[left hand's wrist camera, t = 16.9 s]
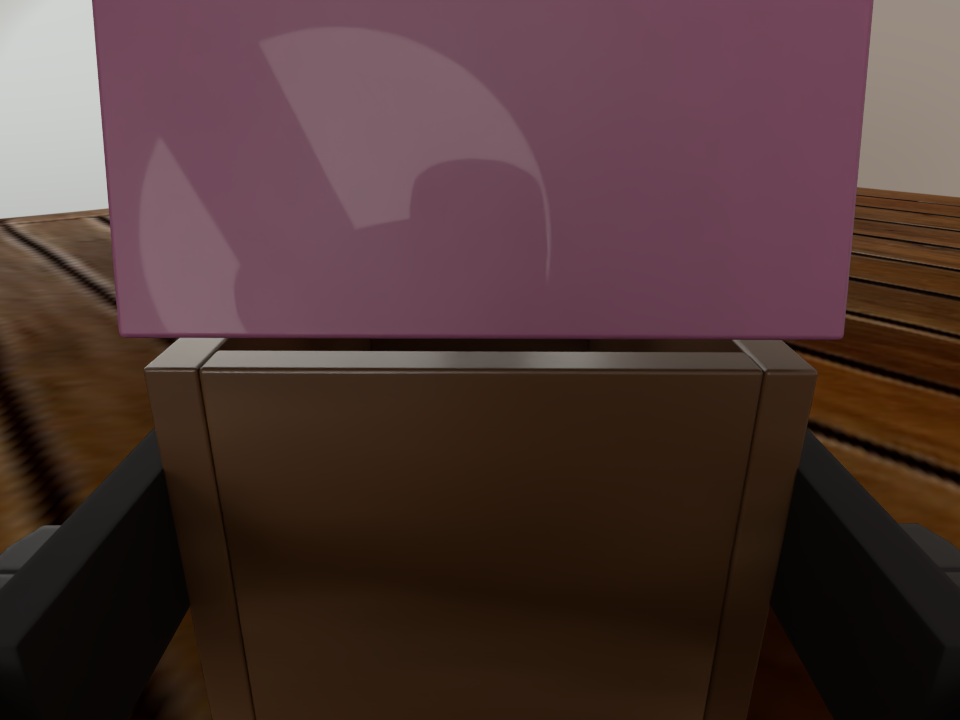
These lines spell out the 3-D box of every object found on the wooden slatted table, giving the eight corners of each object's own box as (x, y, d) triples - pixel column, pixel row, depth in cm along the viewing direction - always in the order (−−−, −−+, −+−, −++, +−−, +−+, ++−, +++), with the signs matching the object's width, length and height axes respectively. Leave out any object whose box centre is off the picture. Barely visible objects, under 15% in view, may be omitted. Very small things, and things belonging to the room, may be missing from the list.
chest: (359, 419, 28) (343, 197, 25) (600, 420, 28) (617, 198, 25) (225, 794, 14) (140, 368, 10) (733, 795, 14) (821, 370, 10)
